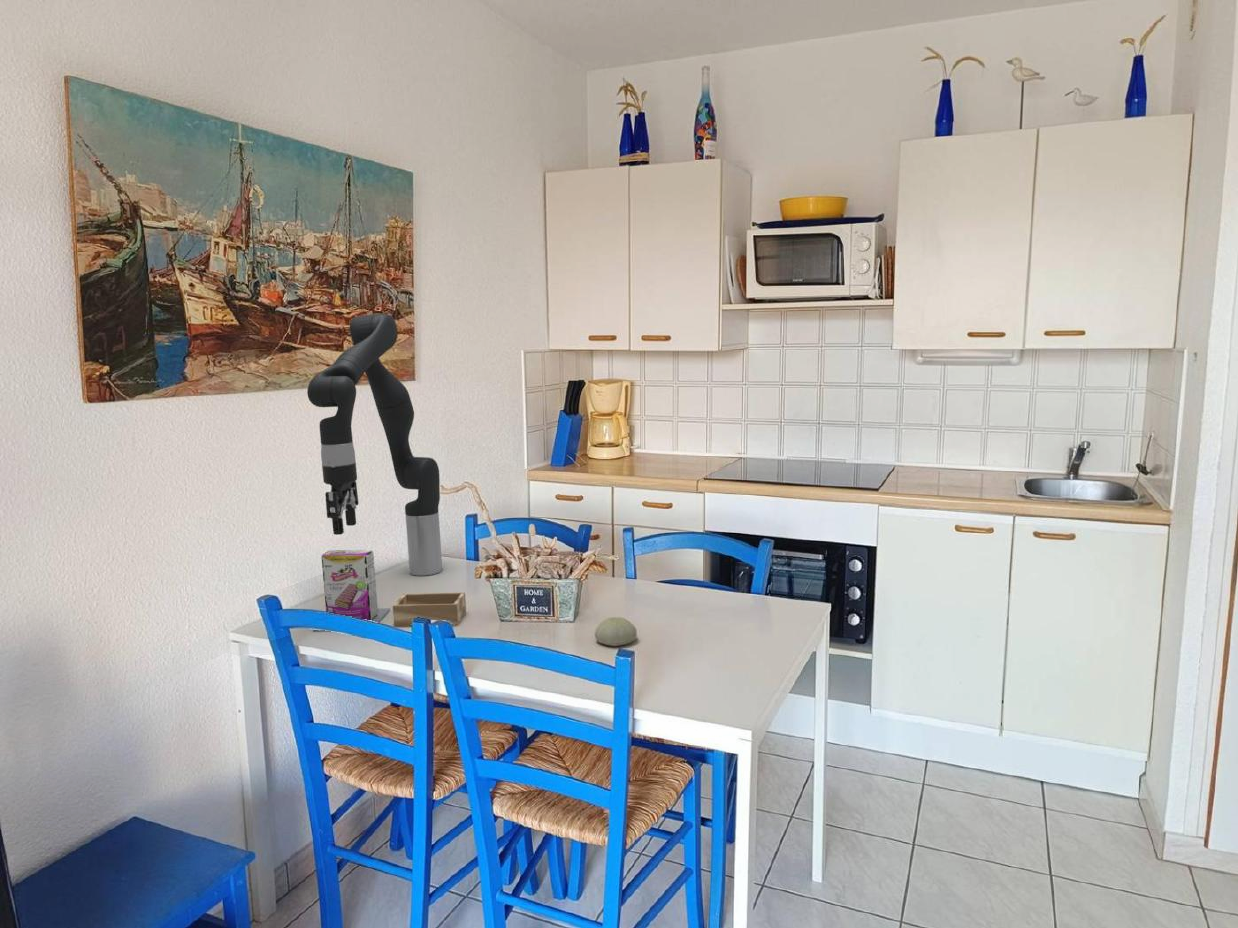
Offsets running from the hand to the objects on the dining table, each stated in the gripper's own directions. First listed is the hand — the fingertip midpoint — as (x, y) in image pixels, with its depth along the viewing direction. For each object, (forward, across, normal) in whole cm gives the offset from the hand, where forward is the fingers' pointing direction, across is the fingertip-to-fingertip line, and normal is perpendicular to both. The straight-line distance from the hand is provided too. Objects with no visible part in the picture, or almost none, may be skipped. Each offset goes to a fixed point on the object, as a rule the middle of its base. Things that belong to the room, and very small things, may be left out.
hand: (345, 529), depth 203 cm
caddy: (+23, 0, +19) cm, 29 cm away
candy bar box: (+22, 0, 0) cm, 22 cm away
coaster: (+22, 0, 0) cm, 23 cm away
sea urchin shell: (+23, +16, +64) cm, 70 cm away
